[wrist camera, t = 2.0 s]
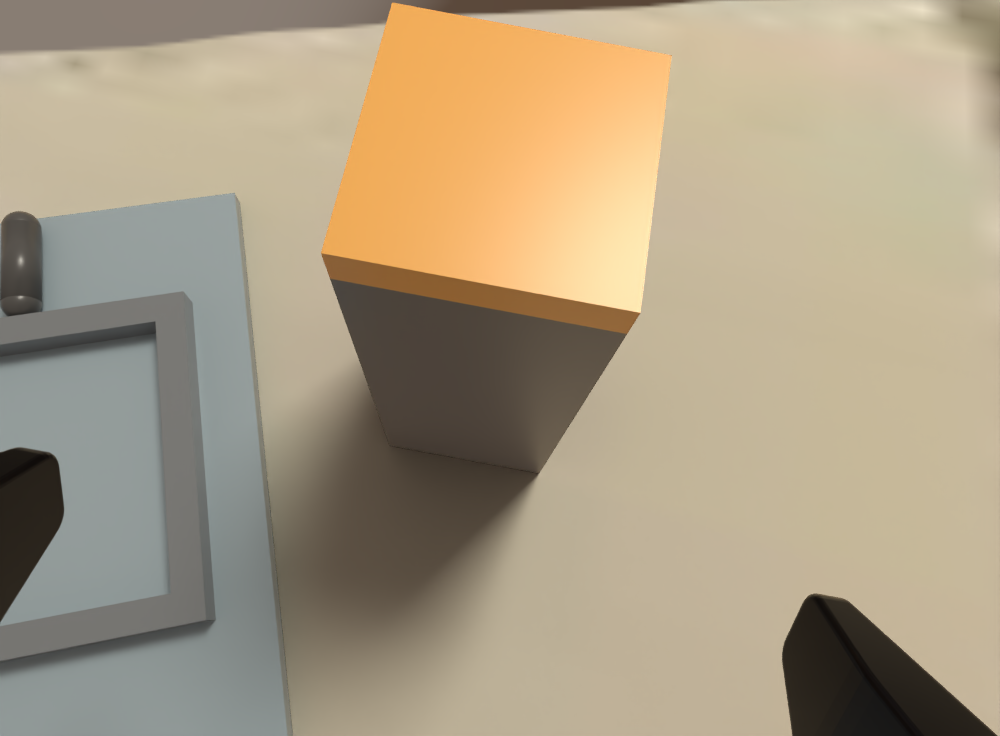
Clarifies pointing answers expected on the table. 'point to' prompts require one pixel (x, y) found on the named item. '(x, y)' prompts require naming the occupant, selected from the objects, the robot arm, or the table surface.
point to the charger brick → (494, 228)
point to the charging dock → (140, 478)
